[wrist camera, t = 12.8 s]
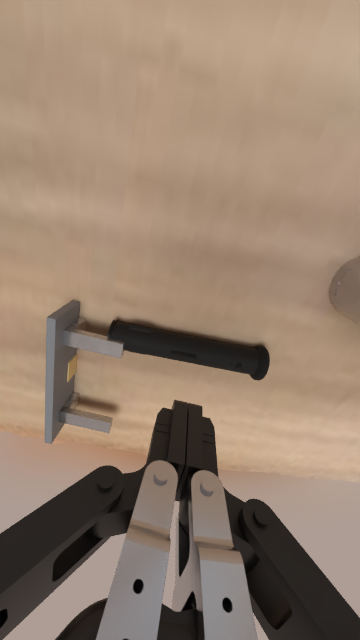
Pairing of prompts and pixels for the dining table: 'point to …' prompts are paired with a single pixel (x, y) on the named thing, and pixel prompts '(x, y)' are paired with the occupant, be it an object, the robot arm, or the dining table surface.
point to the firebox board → (59, 367)
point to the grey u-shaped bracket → (68, 413)
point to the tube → (192, 349)
